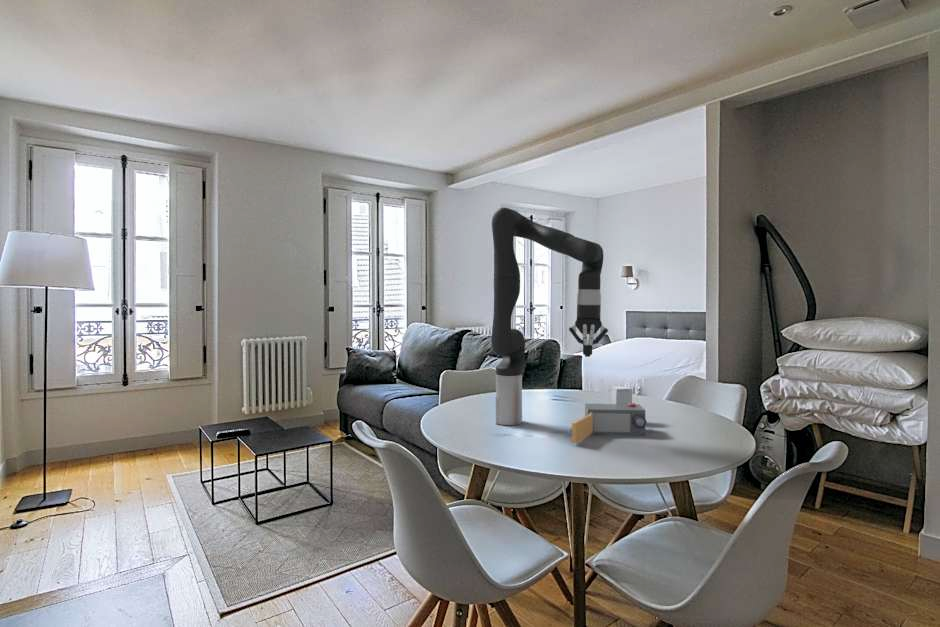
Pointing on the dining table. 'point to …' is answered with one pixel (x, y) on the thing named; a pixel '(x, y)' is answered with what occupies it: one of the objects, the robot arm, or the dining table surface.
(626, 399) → the skincare box
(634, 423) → the camera body
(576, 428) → the door
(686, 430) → the dining table surface
